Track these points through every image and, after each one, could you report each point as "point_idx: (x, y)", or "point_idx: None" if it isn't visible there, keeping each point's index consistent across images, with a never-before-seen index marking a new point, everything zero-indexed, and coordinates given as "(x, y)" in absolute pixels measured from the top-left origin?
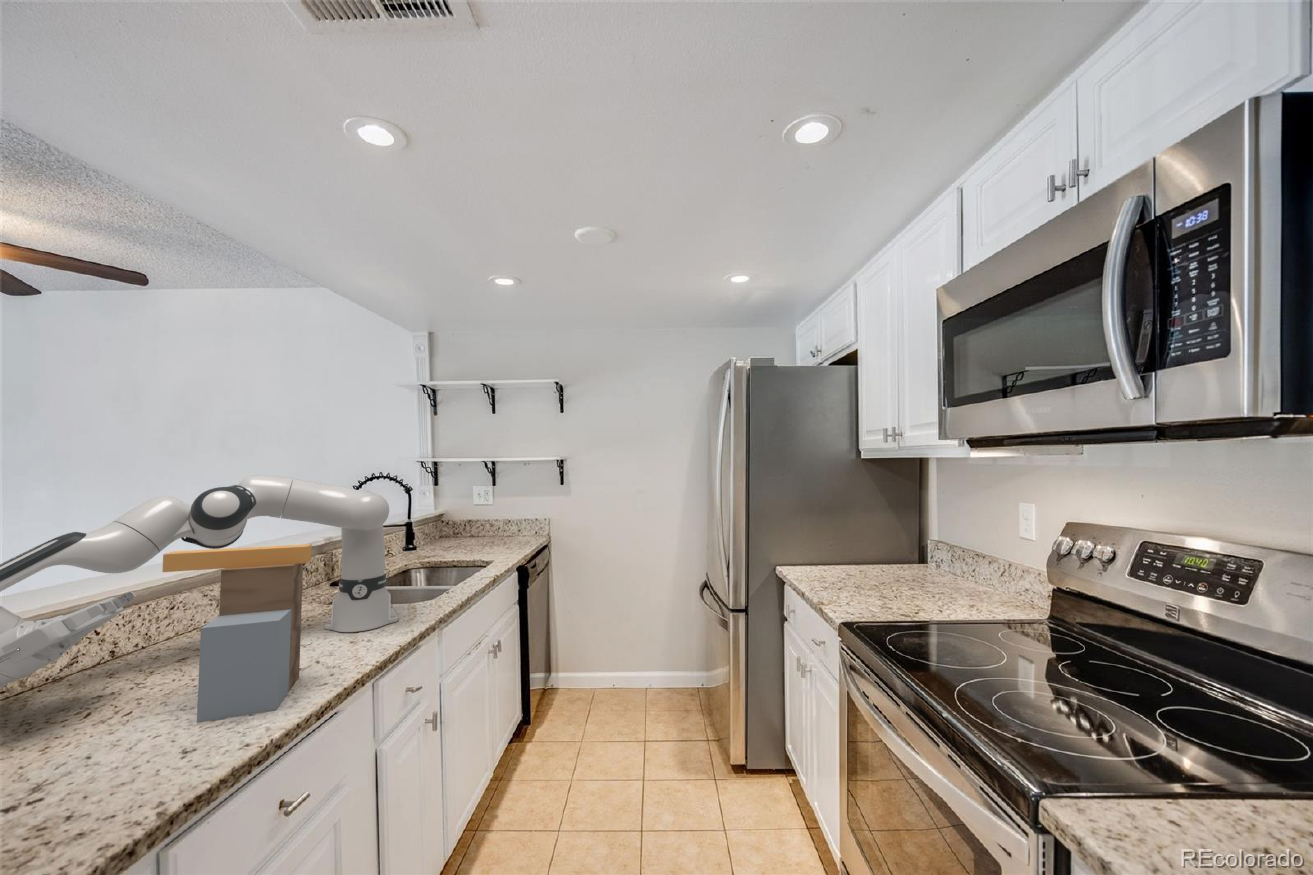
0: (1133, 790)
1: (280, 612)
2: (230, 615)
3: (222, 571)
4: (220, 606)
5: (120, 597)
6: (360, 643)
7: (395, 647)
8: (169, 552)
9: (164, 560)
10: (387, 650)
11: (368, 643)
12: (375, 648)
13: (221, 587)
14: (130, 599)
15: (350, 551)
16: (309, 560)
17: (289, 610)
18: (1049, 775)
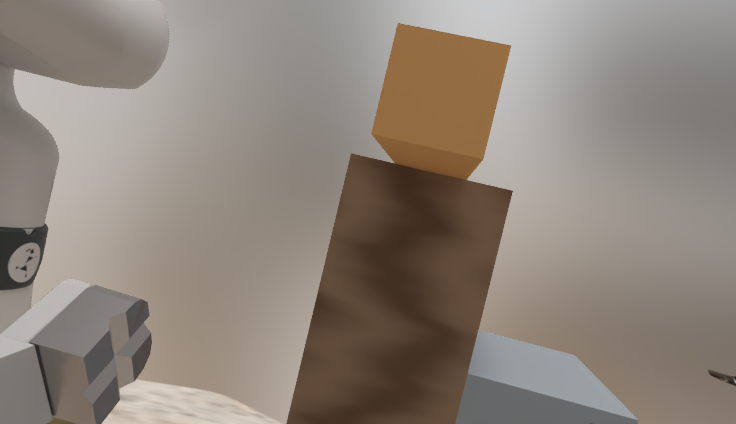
0: (730, 377)
1: (486, 335)
2: (475, 364)
3: (511, 195)
4: (475, 335)
5: (98, 352)
6: (123, 408)
7: (227, 397)
8: (438, 31)
9: (498, 86)
10: (235, 406)
11: (142, 403)
12: (198, 409)
13: (494, 259)
14: (146, 360)
15: (13, 134)
16: None
17: None
18: (718, 378)
